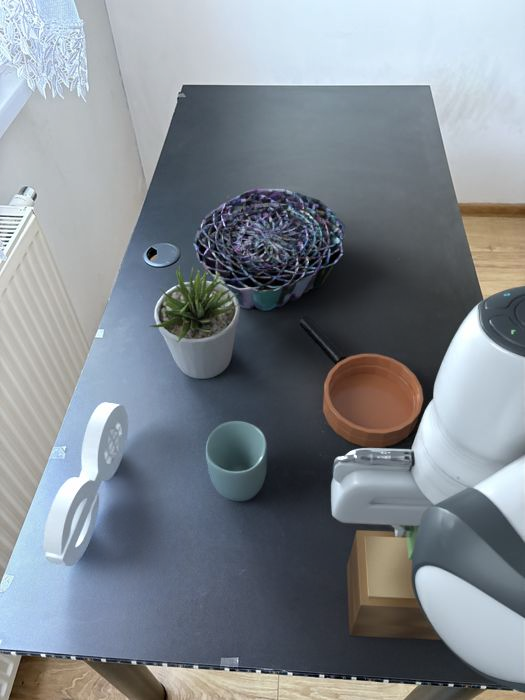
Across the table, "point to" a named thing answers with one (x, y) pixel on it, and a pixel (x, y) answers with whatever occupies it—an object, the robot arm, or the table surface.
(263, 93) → the table surface
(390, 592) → the box
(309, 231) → the decorative bowl
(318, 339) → the pan handle
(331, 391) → the pan
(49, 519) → the white lobed panel
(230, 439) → the cup
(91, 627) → the table surface
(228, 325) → the potted plant
